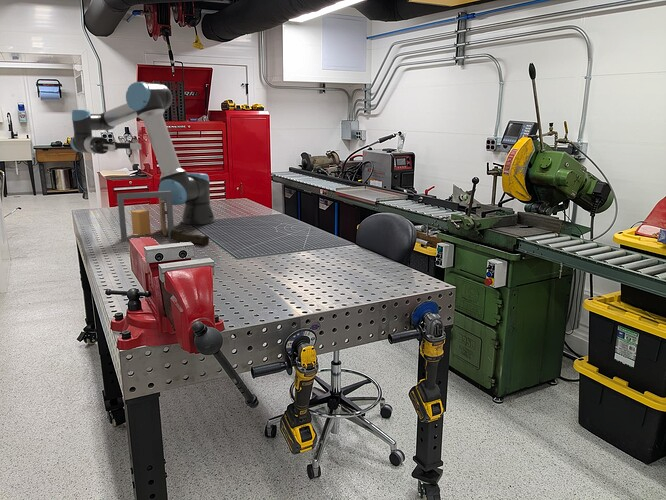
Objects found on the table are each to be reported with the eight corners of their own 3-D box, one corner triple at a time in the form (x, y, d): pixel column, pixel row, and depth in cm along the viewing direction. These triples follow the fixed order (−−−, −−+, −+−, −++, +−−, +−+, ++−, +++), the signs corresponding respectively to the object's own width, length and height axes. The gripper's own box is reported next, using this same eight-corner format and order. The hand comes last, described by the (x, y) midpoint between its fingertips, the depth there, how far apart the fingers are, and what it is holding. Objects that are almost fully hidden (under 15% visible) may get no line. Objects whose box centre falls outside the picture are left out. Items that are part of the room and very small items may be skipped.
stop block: (132, 234, 212) (130, 211, 209) (142, 232, 216) (140, 209, 213) (140, 236, 209) (138, 212, 206) (150, 233, 213) (148, 210, 211)
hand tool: (210, 244, 199) (209, 233, 198) (202, 246, 196) (202, 235, 194) (175, 238, 208) (175, 227, 207) (168, 240, 204) (167, 229, 203)
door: (170, 234, 210) (168, 201, 206) (163, 235, 209) (161, 202, 205) (167, 228, 222) (165, 196, 218) (161, 228, 221) (158, 197, 217)
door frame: (173, 235, 211) (170, 190, 206) (174, 236, 209) (171, 191, 204) (121, 240, 201) (116, 193, 196) (122, 241, 200) (117, 194, 195)
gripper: (121, 152, 241) (151, 154, 230) (72, 155, 220) (102, 157, 209) (119, 136, 239) (150, 137, 228) (70, 137, 218) (101, 139, 208)
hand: (127, 147), depth 219 cm, fingers open, 13 cm apart
